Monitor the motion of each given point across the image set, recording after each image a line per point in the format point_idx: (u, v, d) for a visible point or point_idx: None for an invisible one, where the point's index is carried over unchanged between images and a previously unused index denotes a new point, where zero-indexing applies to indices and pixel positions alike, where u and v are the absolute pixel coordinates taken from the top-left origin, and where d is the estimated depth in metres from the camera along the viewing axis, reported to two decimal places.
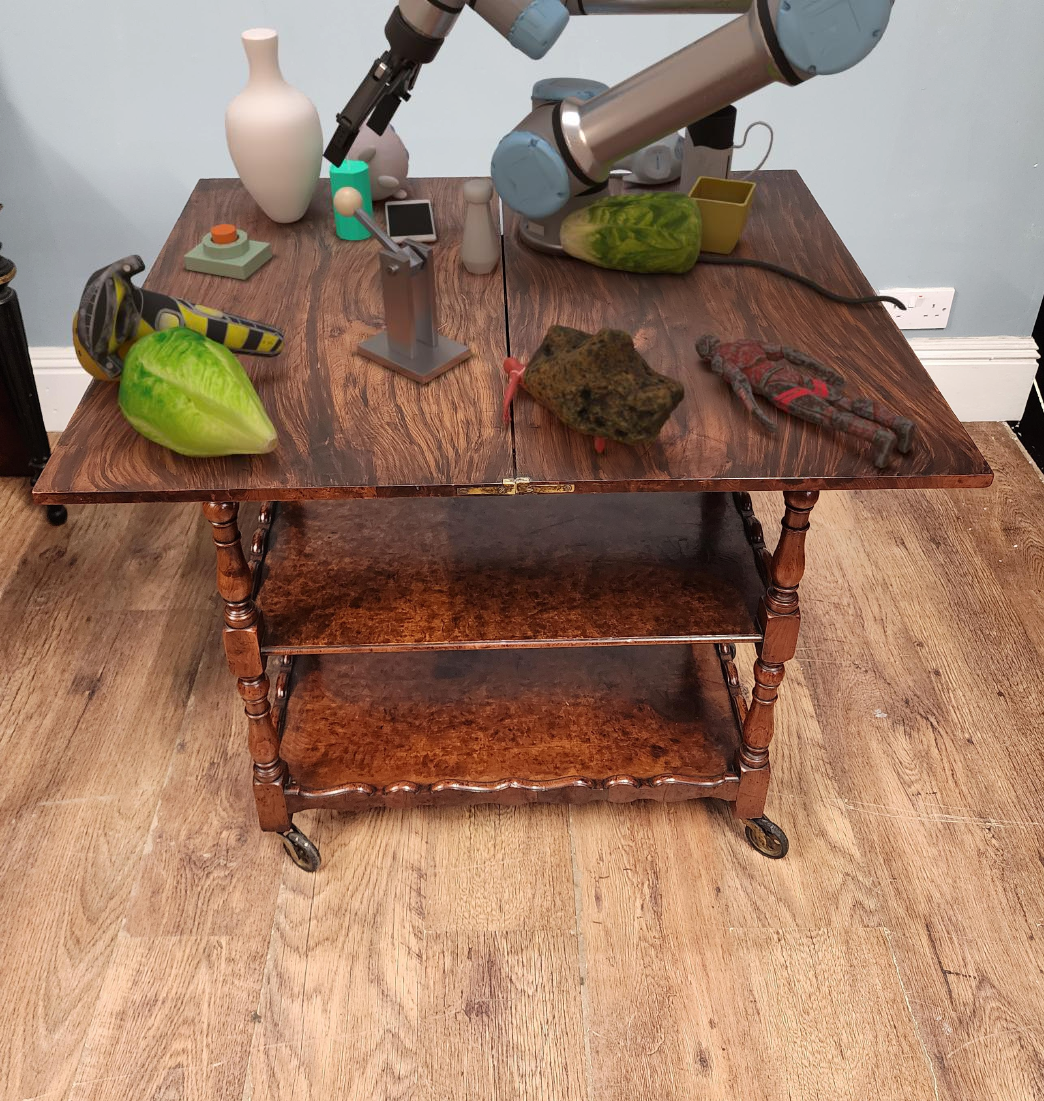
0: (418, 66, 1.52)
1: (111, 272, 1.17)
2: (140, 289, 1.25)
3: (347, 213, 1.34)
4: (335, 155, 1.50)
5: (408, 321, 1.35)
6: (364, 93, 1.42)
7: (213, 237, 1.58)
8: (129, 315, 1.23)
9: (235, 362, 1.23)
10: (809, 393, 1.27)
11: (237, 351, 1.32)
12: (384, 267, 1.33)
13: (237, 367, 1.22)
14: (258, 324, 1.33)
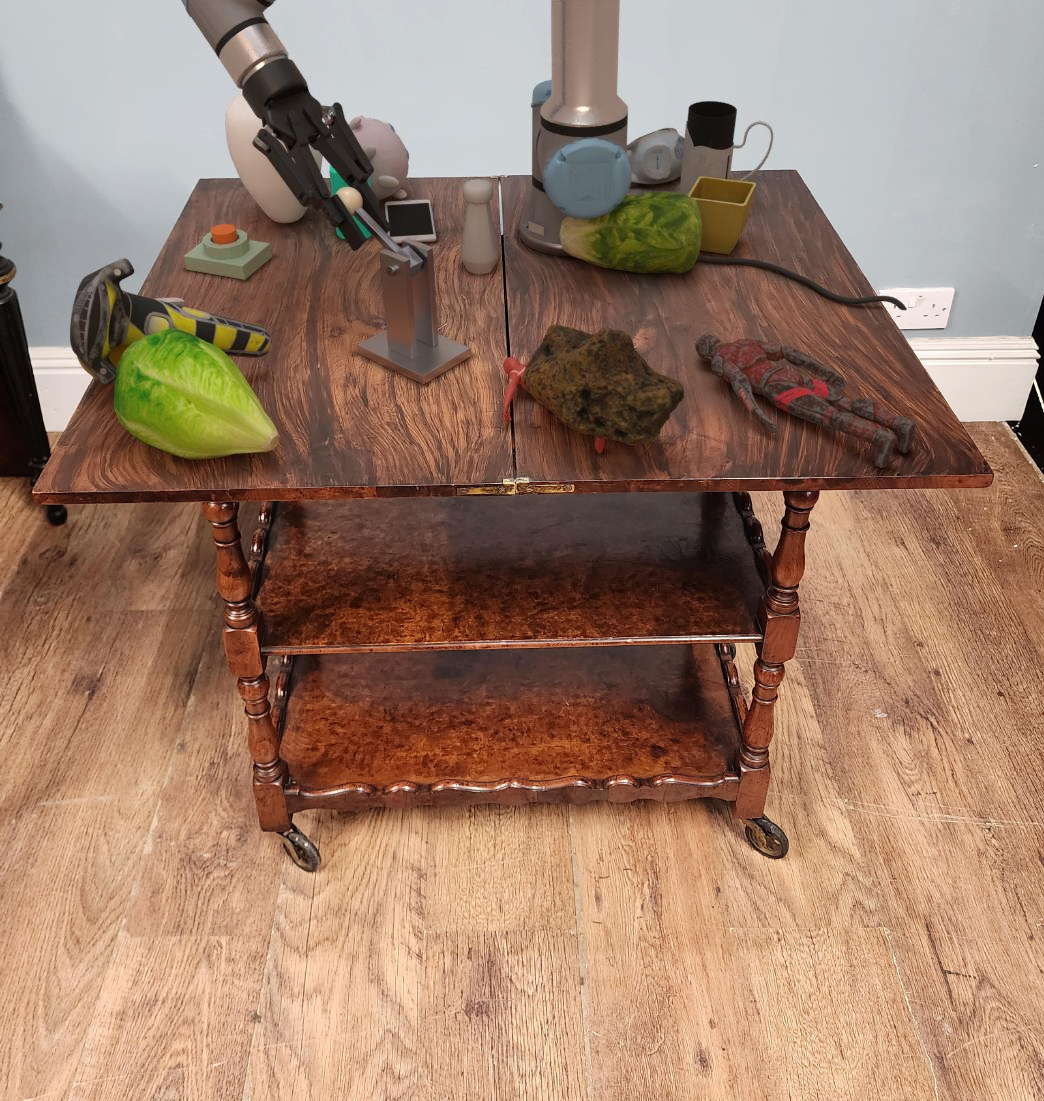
0: (342, 129, 1.35)
1: (102, 277, 1.16)
2: (127, 293, 1.24)
3: None
4: (352, 236, 1.34)
5: (408, 321, 1.35)
6: (280, 167, 1.31)
7: (213, 237, 1.58)
8: (119, 320, 1.23)
9: (230, 362, 1.23)
10: (809, 393, 1.27)
11: (225, 352, 1.32)
12: (384, 267, 1.33)
13: (233, 367, 1.22)
14: (244, 324, 1.33)
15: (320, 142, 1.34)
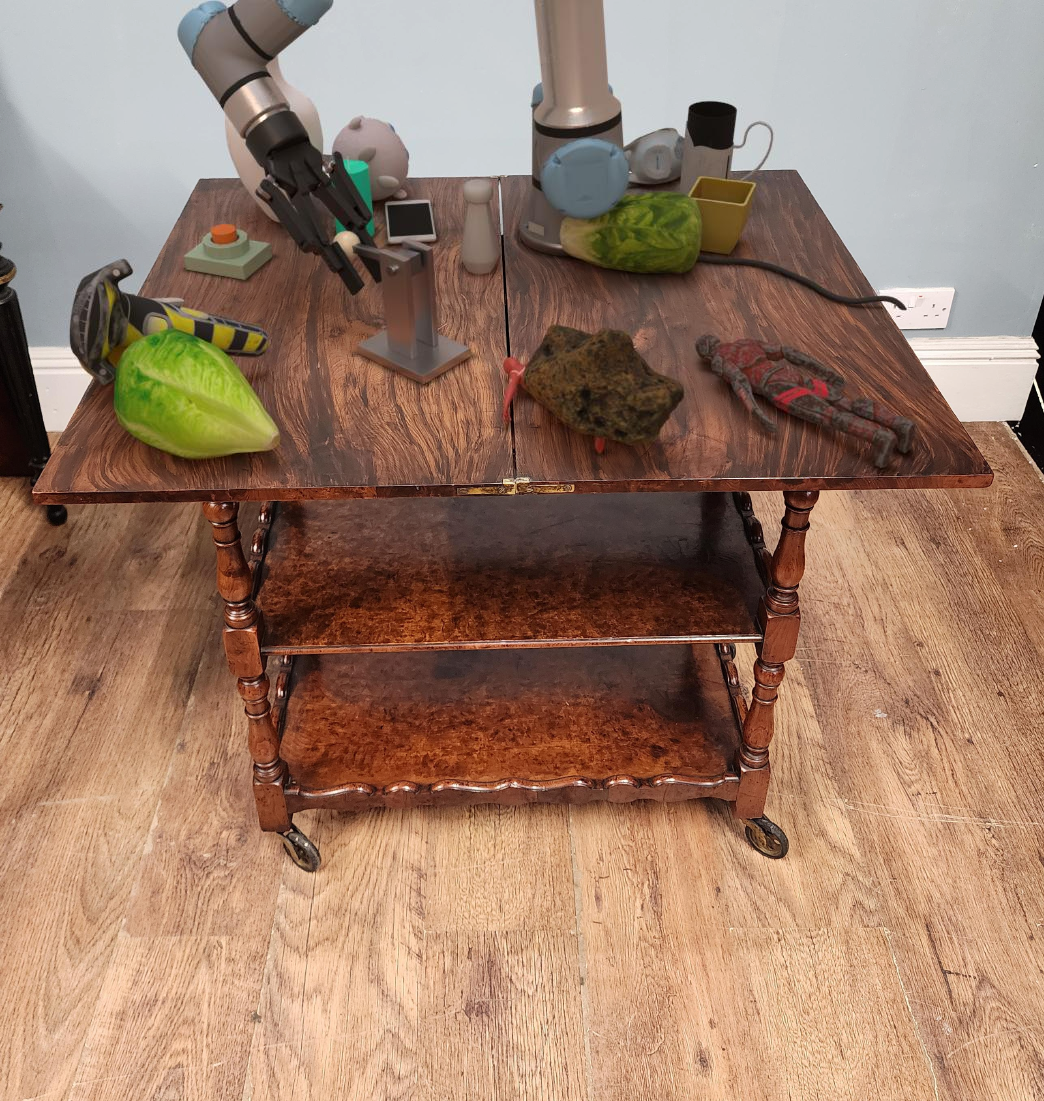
0: (341, 177, 1.40)
1: (101, 278, 1.16)
2: (125, 293, 1.24)
3: (346, 252, 1.38)
4: (351, 281, 1.38)
5: (408, 321, 1.35)
6: (282, 216, 1.35)
7: (213, 237, 1.58)
8: (117, 320, 1.22)
9: (230, 361, 1.23)
10: (809, 393, 1.27)
11: None
12: (384, 267, 1.33)
13: (233, 366, 1.22)
14: (242, 324, 1.33)
15: (320, 190, 1.39)
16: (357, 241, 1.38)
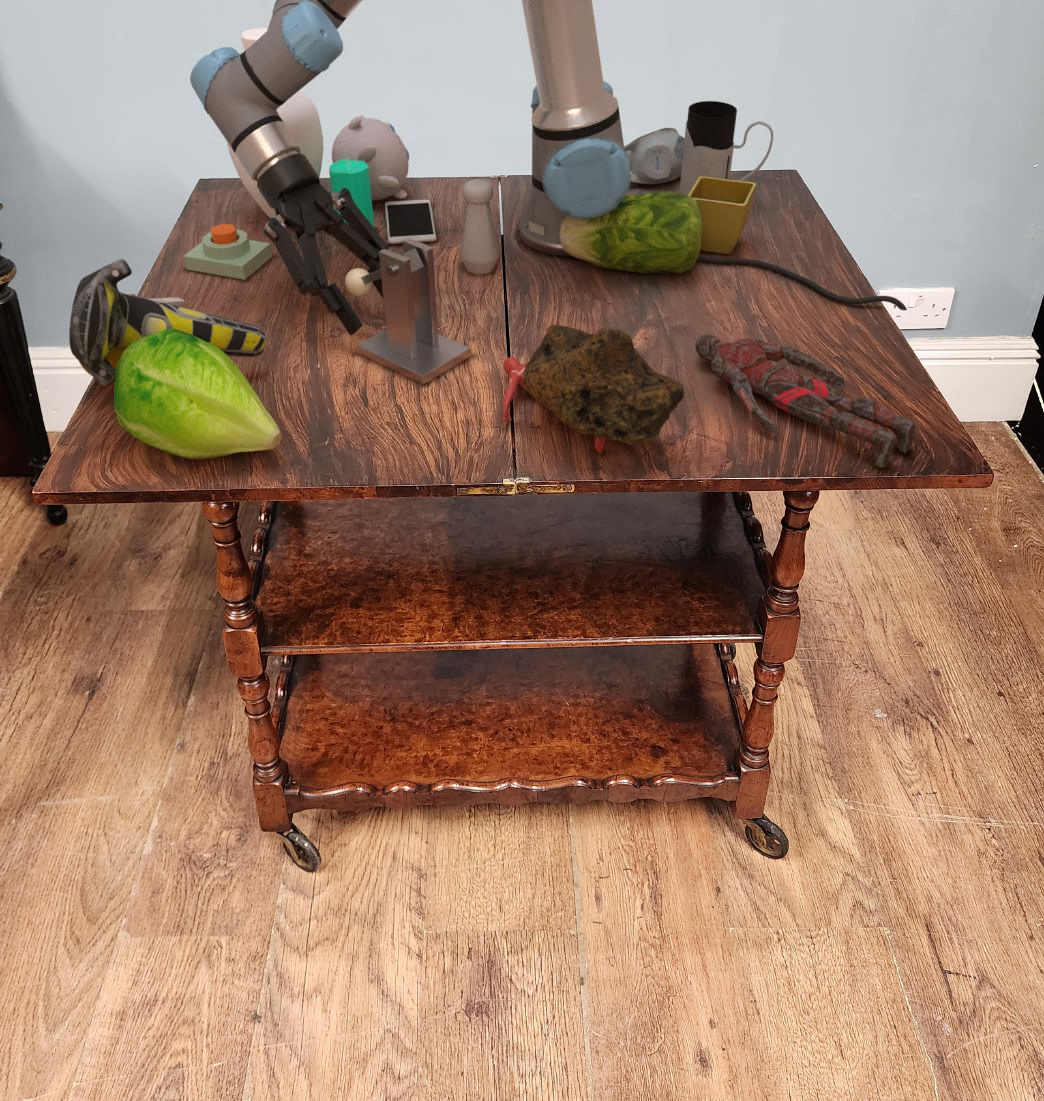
0: (353, 213, 1.43)
1: (101, 278, 1.16)
2: (123, 294, 1.24)
3: (357, 284, 1.40)
4: (349, 321, 1.40)
5: (408, 321, 1.35)
6: (285, 255, 1.38)
7: (213, 237, 1.58)
8: (116, 321, 1.22)
9: (230, 361, 1.23)
10: (809, 393, 1.27)
11: None
12: (384, 267, 1.33)
13: (233, 366, 1.22)
14: (240, 324, 1.33)
15: (334, 228, 1.42)
16: (366, 273, 1.41)
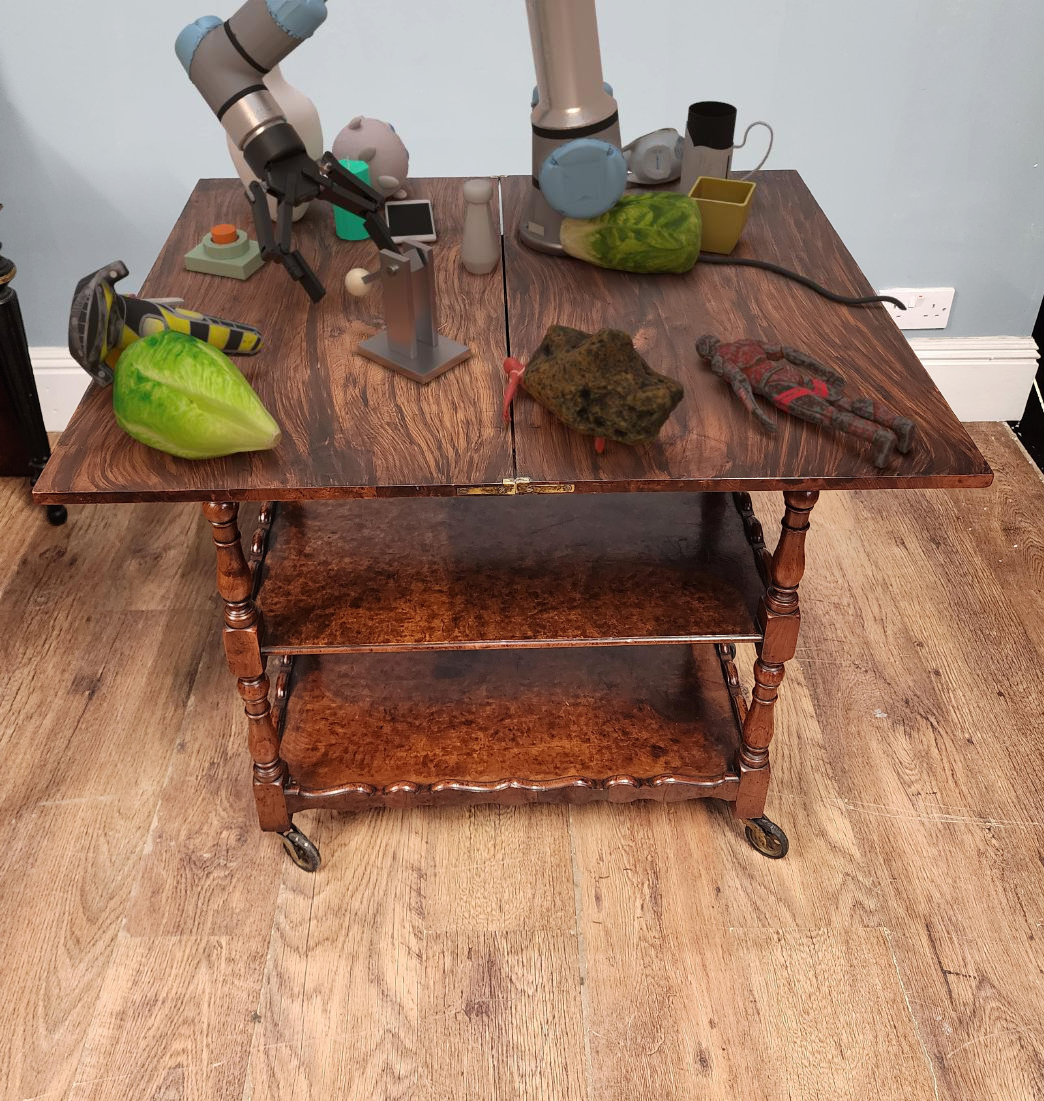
0: (343, 175, 1.43)
1: (99, 279, 1.16)
2: (120, 295, 1.24)
3: (357, 284, 1.40)
4: (312, 289, 1.37)
5: (408, 321, 1.35)
6: (257, 219, 1.35)
7: (213, 237, 1.58)
8: (114, 322, 1.22)
9: (229, 361, 1.23)
10: (809, 393, 1.27)
11: None
12: (384, 267, 1.33)
13: (232, 366, 1.22)
14: (237, 324, 1.33)
15: (326, 193, 1.42)
16: (366, 273, 1.41)
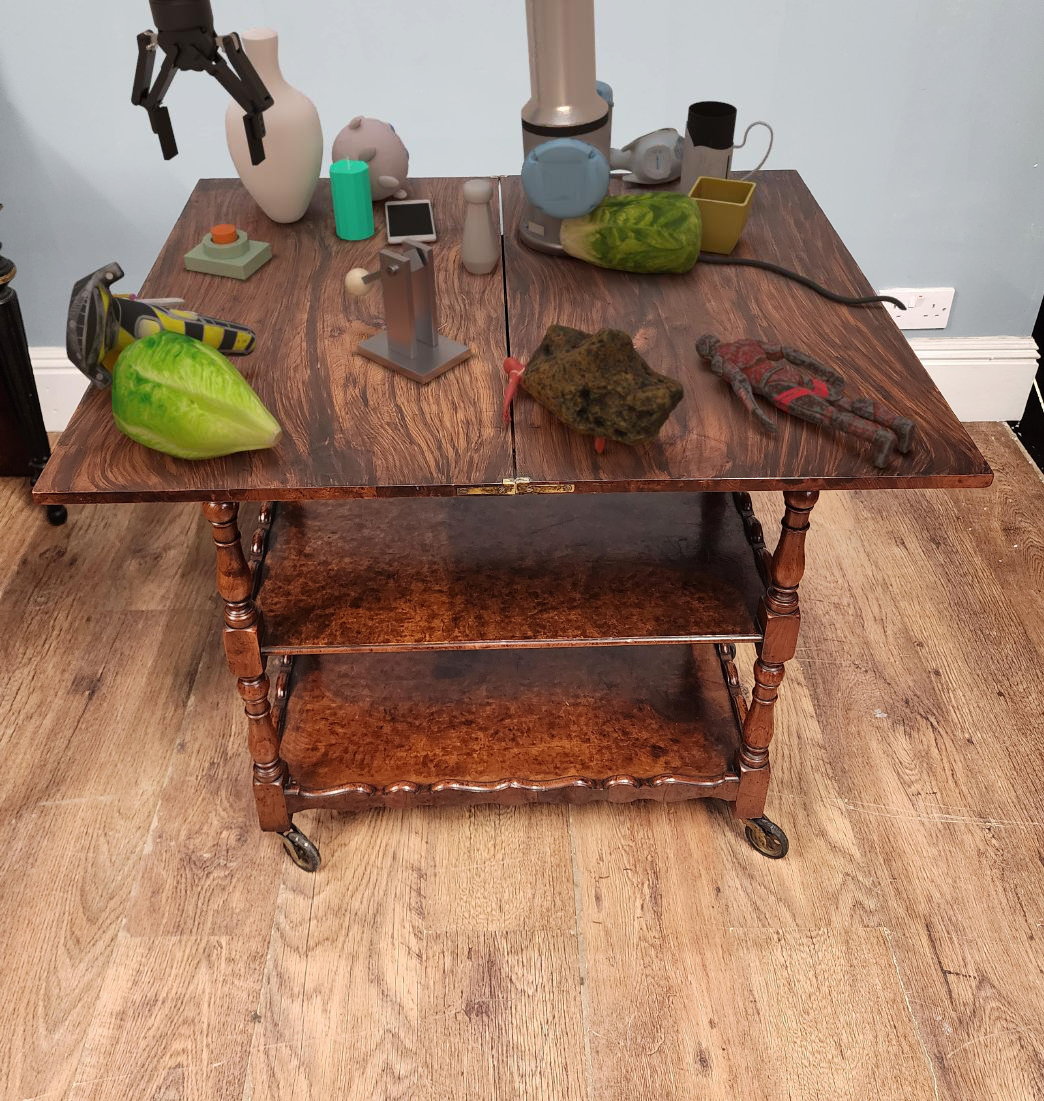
0: (233, 67, 1.40)
1: (95, 281, 1.15)
2: (115, 297, 1.23)
3: (357, 284, 1.40)
4: None
5: (408, 321, 1.35)
6: None
7: (213, 237, 1.58)
8: (109, 324, 1.22)
9: (227, 360, 1.23)
10: (809, 393, 1.27)
11: None
12: (384, 267, 1.33)
13: (230, 365, 1.22)
14: (230, 324, 1.33)
15: None
16: (366, 273, 1.41)
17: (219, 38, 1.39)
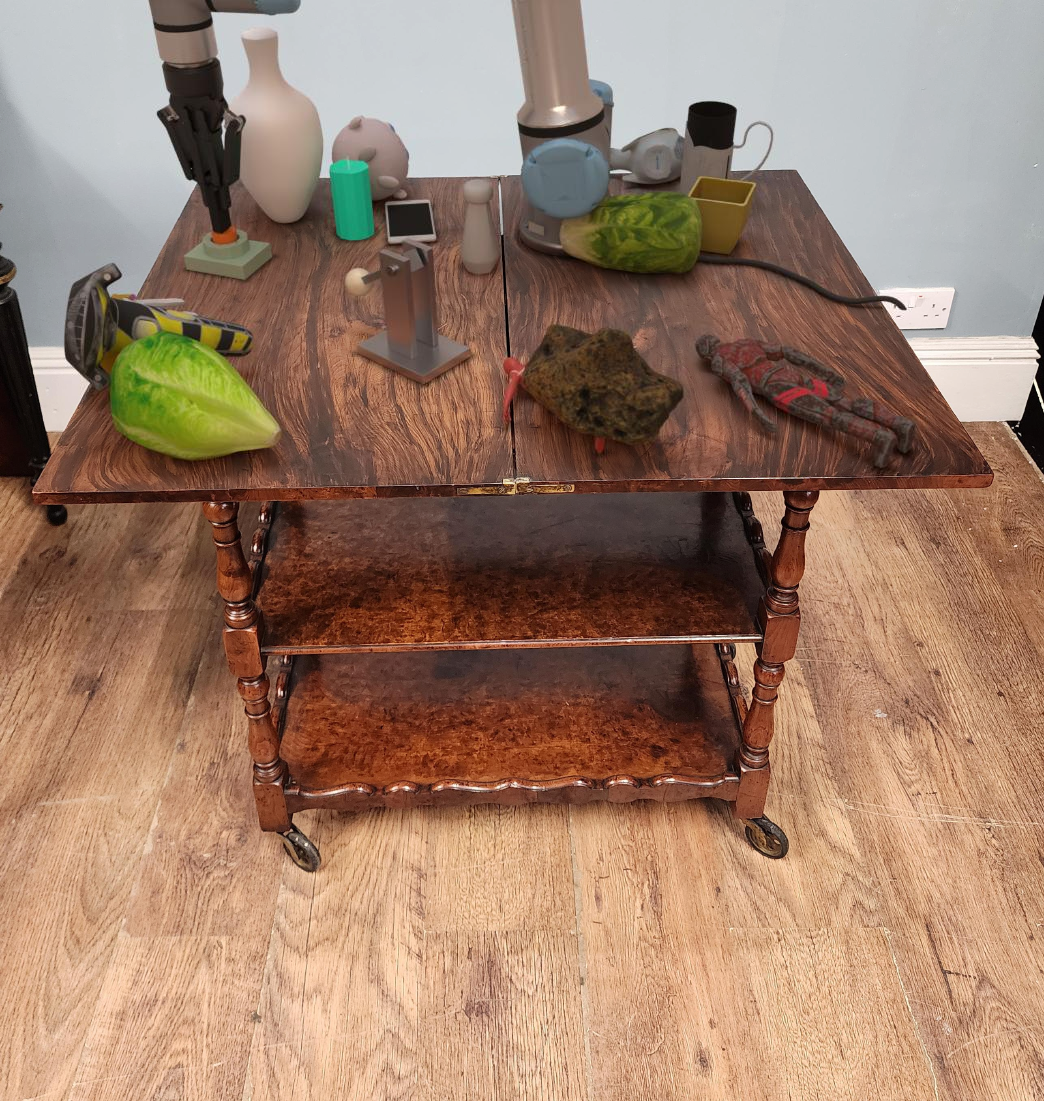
0: (224, 141, 1.48)
1: (93, 282, 1.15)
2: (112, 298, 1.23)
3: (357, 284, 1.40)
4: None
5: (408, 321, 1.35)
6: None
7: (213, 238, 1.58)
8: (107, 325, 1.22)
9: (225, 361, 1.23)
10: (809, 393, 1.27)
11: None
12: (384, 267, 1.33)
13: (229, 365, 1.22)
14: (228, 324, 1.33)
15: None
16: (366, 273, 1.41)
17: (228, 115, 1.46)
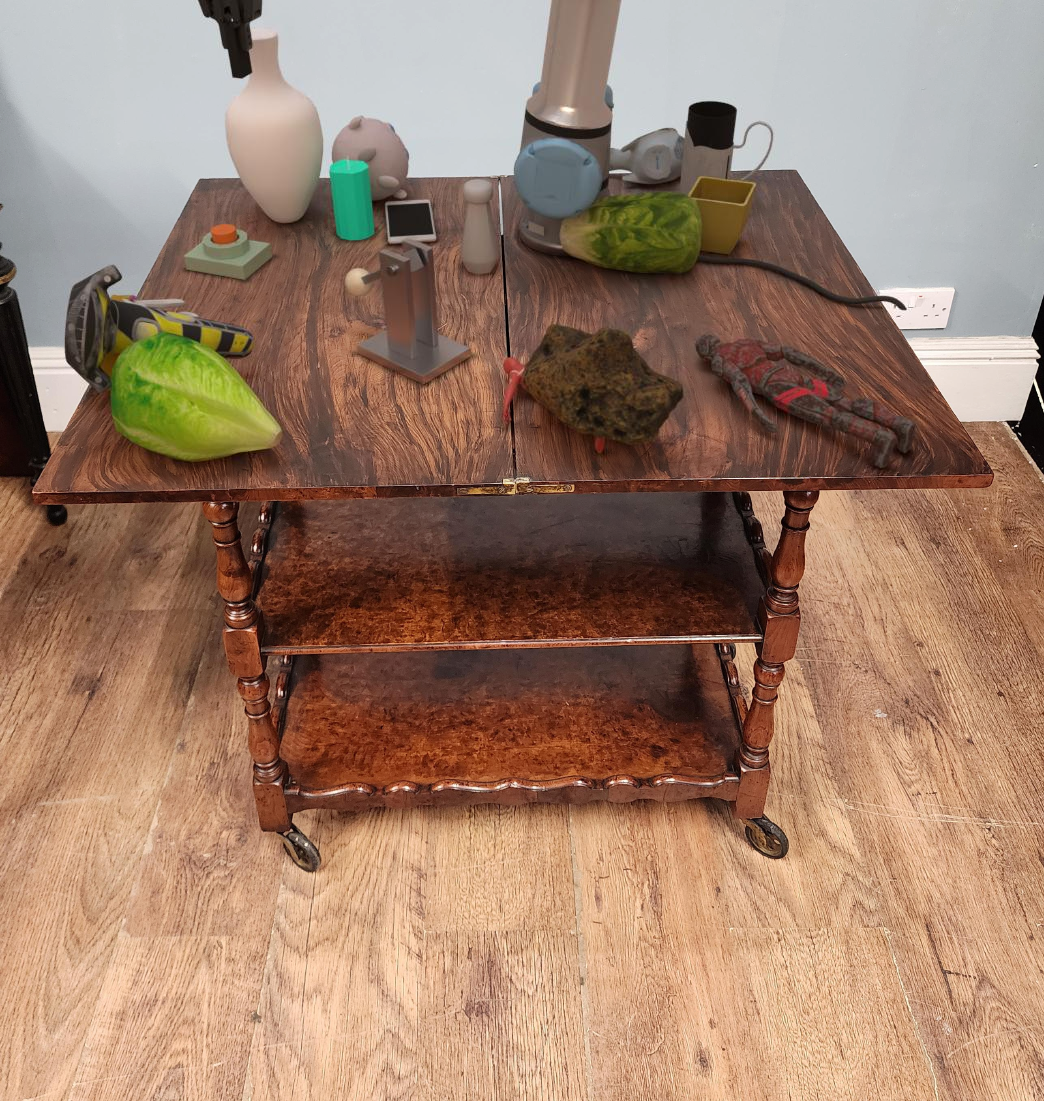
0: None
1: (94, 284, 1.15)
2: (112, 300, 1.23)
3: (357, 284, 1.40)
4: None
5: (408, 321, 1.35)
6: None
7: (213, 237, 1.58)
8: (107, 327, 1.21)
9: (226, 362, 1.23)
10: (809, 393, 1.27)
11: None
12: (384, 267, 1.33)
13: (229, 366, 1.22)
14: (228, 326, 1.33)
15: None
16: (366, 273, 1.41)
17: None
